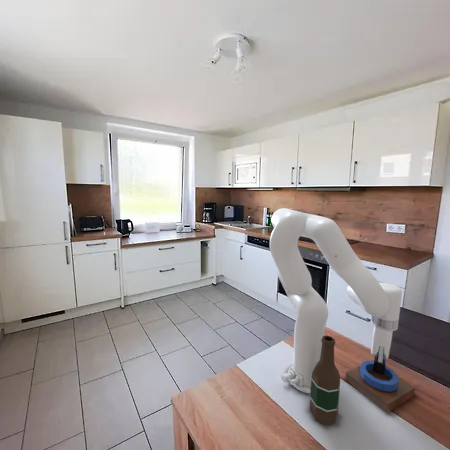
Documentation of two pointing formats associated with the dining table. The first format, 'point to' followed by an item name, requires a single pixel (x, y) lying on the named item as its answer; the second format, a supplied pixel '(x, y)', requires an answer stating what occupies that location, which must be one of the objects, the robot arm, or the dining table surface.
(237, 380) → the dining table surface
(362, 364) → the ring
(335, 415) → the beer bottle
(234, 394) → the dining table surface
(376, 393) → the platform
